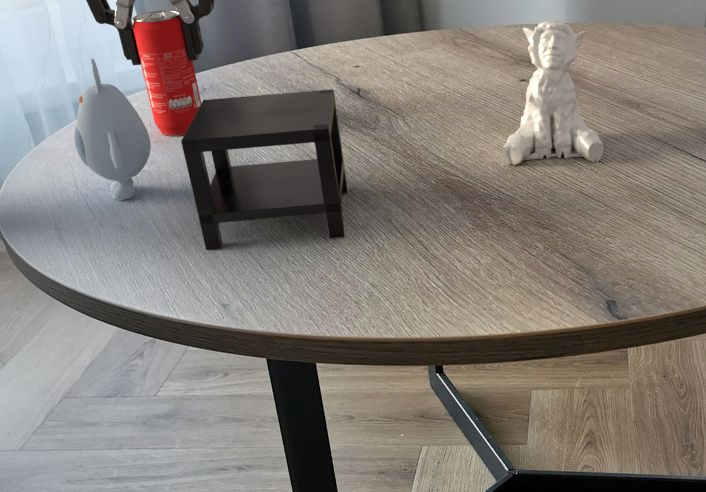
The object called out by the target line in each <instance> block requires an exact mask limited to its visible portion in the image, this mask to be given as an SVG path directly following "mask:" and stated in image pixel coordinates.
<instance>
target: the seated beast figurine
mask: <svg viewBox="0 0 706 492" xmlns="http://www.w3.org/2000/svg"><path fill="white" fill-rule="evenodd" d="M522 31H523V33H524V35H525V37H526V39H527V41H528V43H529V45H528V47H527V51H528V52H529V58H530V60H531V64H532V65H534V66H535V67H536V68H537V69H536V70H534V72H533V74H532V76H531V78H530V79H529V84H528V86H527V88H526V91H525V98H526V99H525V100H526V101H525V105H524V106H525V107H524V109H523V115H522V116H521V117H520V122H519V124H520V126H519V128H518V129H517V130H516V131H515V132H514V133H512V134H510V135H509V136H508V137H507V141H506V142H505V144H504V145H503V147H502V149H501V153H500V154H501V158H502V160H503V161H504V162H505V164H507V165H512V166H517V165H521V164H522V163H523V162H524V161H529V160H542V159H544V157H546V159H547V160H548V159H550V158H551V157H557V158H558V159H561V158H562V155H563V157H564V159H568V158H584V159H586V160H587V161H588V162H591V163H598V162H600V160H602V159H601V158H602V157H603V155H604V151H605V150H604V144H603V141H602V140H601V139H600V136H599V134H598V133H597V132H596V131H595V130H594V129H592V128H591V127H588V125H586V123H585V120H584V119H583V118H582V116H581V110H580V108H579V105H578V103H577V99H578V98H577V92H576V89H575V86H576V85H575V84H574V81H573V78H571V76H570V73H569V72H568V71H569V68H570V66H571V65H572V63H574V62H575V61H576V60H577V59H578V53H577V52H578V50H579V49H580V47H581V45H582V42H583V38H584V36H585V34H586V33H587V30H582V31H580V32H578V33H576V32H574V31H573V28H572V26H571V25H570V24H568V23H564V22H562V21H561V20H558V19H552V20H548V19H547V20H546V21H545V20H544V21H543V22H539V23H538V24H537V26H535V27H534V29H531V28H529V27H523V28H522ZM552 150H555V153H552Z"/></svg>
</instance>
